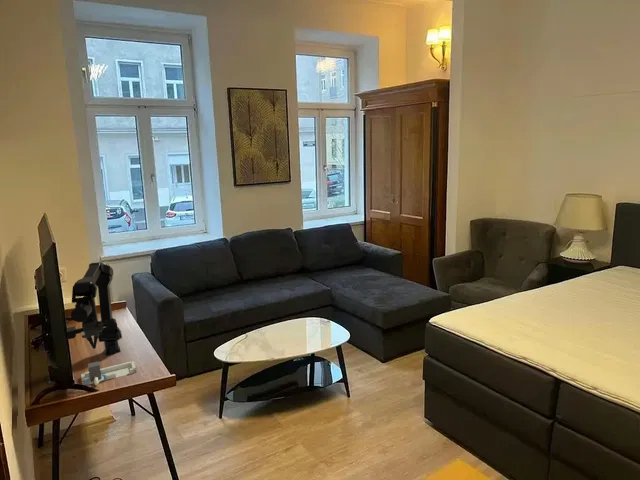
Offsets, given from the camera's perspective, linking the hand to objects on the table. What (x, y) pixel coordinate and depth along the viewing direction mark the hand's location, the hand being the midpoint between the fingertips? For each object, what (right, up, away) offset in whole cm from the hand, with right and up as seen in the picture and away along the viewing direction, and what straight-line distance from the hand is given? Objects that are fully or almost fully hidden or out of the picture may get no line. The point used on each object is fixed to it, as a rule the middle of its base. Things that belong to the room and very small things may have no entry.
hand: (94, 348), depth 186 cm
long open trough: (+5, -12, +3) cm, 13 cm away
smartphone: (-13, -13, +5) cm, 19 cm away
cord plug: (+2, -13, -2) cm, 13 cm away
